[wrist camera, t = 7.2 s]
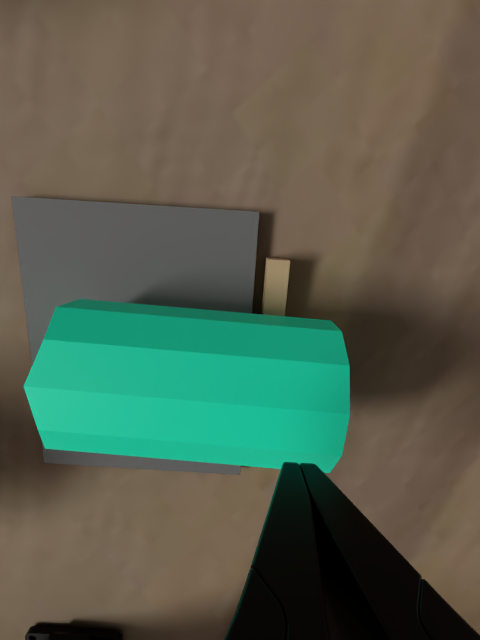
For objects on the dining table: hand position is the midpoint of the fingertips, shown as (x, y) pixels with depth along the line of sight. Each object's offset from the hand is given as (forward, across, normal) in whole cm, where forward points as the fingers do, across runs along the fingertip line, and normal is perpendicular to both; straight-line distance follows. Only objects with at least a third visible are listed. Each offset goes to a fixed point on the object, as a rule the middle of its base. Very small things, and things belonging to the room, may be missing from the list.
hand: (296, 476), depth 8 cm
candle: (+5, -2, 0) cm, 5 cm away
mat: (+8, +7, 0) cm, 11 cm away
